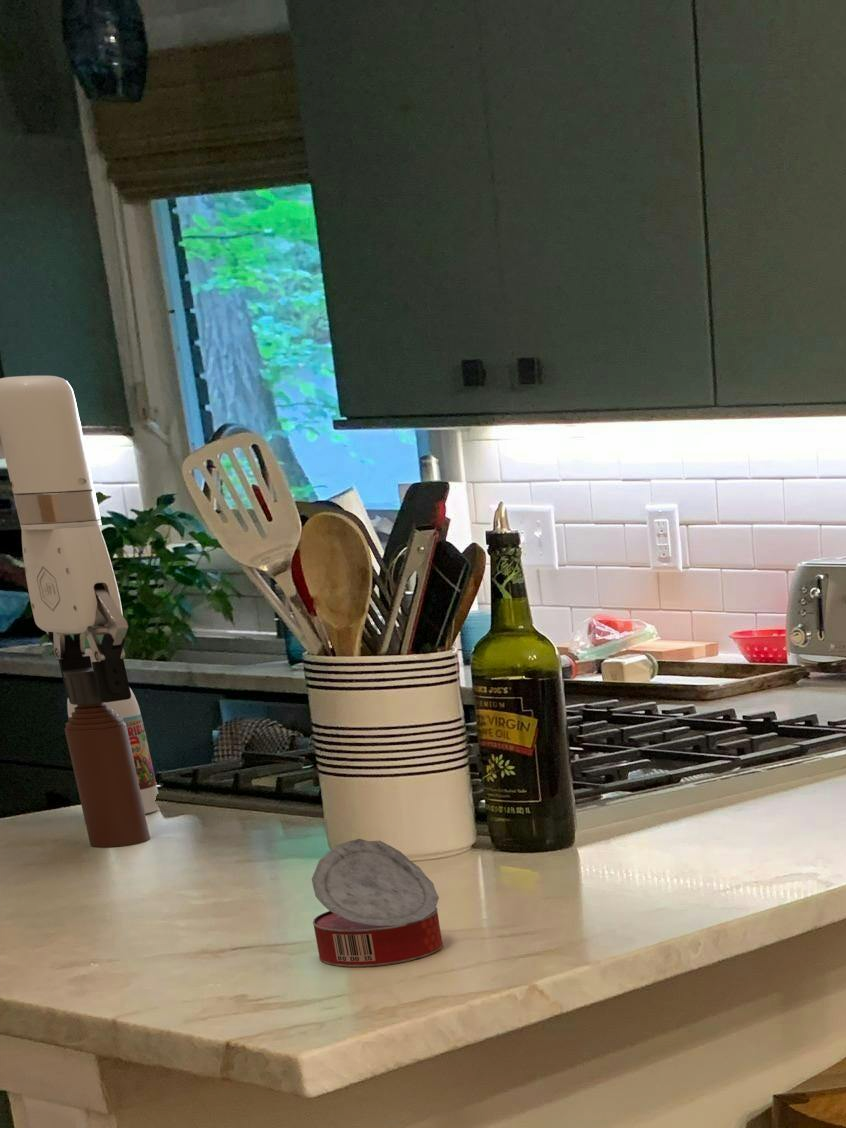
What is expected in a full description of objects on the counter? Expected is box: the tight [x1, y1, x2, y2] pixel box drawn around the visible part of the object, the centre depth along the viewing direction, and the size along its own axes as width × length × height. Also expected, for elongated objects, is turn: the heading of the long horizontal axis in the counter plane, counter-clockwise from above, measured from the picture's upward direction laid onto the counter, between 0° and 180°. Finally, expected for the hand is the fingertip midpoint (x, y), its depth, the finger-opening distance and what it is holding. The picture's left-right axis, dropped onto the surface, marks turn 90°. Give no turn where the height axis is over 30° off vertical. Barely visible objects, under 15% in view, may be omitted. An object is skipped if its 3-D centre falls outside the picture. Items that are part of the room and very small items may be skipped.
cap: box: [63, 668, 104, 705], centre depth 200 cm, size 4×4×3 cm
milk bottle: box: [66, 632, 160, 815], centre depth 218 cm, size 8×8×20 cm
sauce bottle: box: [64, 703, 151, 848], centre depth 203 cm, size 6×6×17 cm
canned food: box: [311, 838, 444, 968], centre depth 157 cm, size 11×10×10 cm
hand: (99, 697), depth 200 cm, fingers open, 5 cm apart
